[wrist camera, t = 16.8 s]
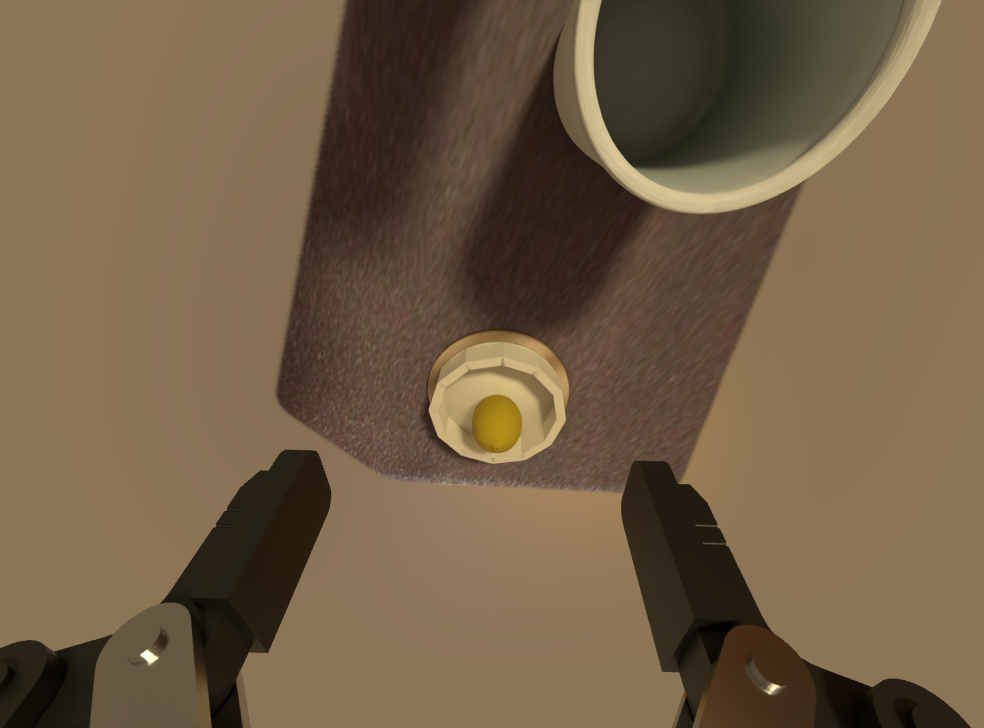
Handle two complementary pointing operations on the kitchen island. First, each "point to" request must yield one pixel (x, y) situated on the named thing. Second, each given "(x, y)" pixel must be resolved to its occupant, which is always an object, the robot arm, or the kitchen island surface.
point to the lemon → (496, 423)
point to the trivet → (499, 336)
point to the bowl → (498, 374)
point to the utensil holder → (728, 90)
